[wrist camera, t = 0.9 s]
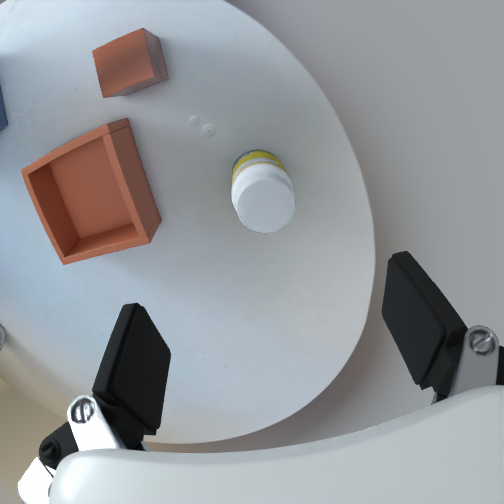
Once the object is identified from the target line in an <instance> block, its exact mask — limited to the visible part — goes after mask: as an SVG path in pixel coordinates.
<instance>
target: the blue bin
mask: <svg viewBox="0 0 504 504" xmlns="http://www.w3.org/2000/svg"><path fill="white" fill-rule="evenodd" d="M7 125H8V123H7V118H6V114H5V109H4V105H3V100H2V94H1V88H0V131H1V130H2V129H3V128H4V127H5V126H7Z"/></svg>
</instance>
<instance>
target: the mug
mask: <svg viewBox="0 0 504 504" xmlns="http://www.w3.org/2000/svg"><path fill="white" fill-rule="evenodd" d="M5 336H6V334H5V331H4V329H3V327H2V326H1V325H0V352H1V349H2V346H3V343H4V340H5Z"/></svg>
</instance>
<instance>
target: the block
mask: <svg viewBox="0 0 504 504" xmlns="http://www.w3.org/2000/svg"><path fill="white" fill-rule="evenodd" d="M92 52H93V57H94V62H95V66H96V71H97V75H98V79H99V83H100V87H101V91H102V95H103V98H107V97H117V96H125V95H128V94H130V93H133V92H135V91H138V90H140V89H143V88H146V87H148V86H151V85H154V84H157V83H160V82H163V81H166V80H168V75H167V71H166V67H165V63H164V58H163V54H162V50H161V46H160V42H159V38H158V37H157V36H155V35H154V34H152V33H150V32H149V31H147V30H146V29H144V28H141V29H139V30H136V31H134V32H131V33H129V34H127V35H124V36H122V37H120V38H118V39H115V40H113V41H111V42H109V43H107V44H105V45H103V46H101V47H99V48H97V49H95V50H93V51H92Z"/></svg>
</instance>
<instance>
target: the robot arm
mask: <svg viewBox="0 0 504 504" xmlns="http://www.w3.org/2000/svg"><path fill="white" fill-rule="evenodd" d="M382 315H383V319H384V321H385V323H386V325H387V326H388V328H389V330H390V332H391V334H392V336H393V338H394V340H395V342H396V344H397V346H398V348H399V351H400V353H401V355H402V357H403V359H404V361H405V363H406V365H407V367H408V370H409V372H410V374H411V376H412V378H413V380H414V382H415V384H417V385H418V384H419V385H420V387H421V390H423V389H426V388H428V387H431V386H432V387H433V389H434V392H435V394H434V397H433V400H432V403H431V405H430V406H428V407H426V408H423V409H421V410H418V411H416V412H413V413H410V414H408V415H405V416H402V417H400V418H397V419H394V420H391V421H388V422H385V423H382V424H380V425H376V426H373V427H370V428H366V429H363V430H360V431H356V432H352V433H349V434H345V435H341V436H337V437H333V438H328V439H324V440H319V441H315V442H309V443H304V444H298V445H293V446H287V447H279V448H273V449H264V450H254V451H242V452H227V453H166V452H151V451H150V450H149V448H148V447H147V445H146V444H145V442H144V441H143V437H144V435H156V430H157V429H159V427H160V424H161V417H162V409H163V403H164V396H165V389H166V383H167V377H168V371H169V365H170V359H171V353H170V349H169V348H168V346H167V344H166V343H165V341H164V340H163V338H162V336H161V335H160V333H159V332H158V330H157V328H156V327H155V325H154V323H153V321H152V320H151V318H150V316H149V315H148V313H147V311H146V309H145V308H144V307H143V306H140V304H138V303H132V304H125V305H123V307H122V309H121V312H120V314H119V317H118V319H117V322H116V324H115V327H114V329H113V332H112V334H111V337H110V339H109V342H108V345H107V348H106V350H105V353H104V356H103V359H102V361H101V364H100V367H99V370H98V373H97V376H96V379H95V382H94V385H93V388H92V391H93V395H92V396H91V395H86V394H85V395H81V396H79V397H77V398H76V399H74V400H73V401H72V403H71V404H70V406H69V409H68V420H69V421H67V422H66V423H65V424H63V425H62V426H61V427H59V428H58V429H57V430H55V431H54V432H53V433H52V434H50V435H49V436H47V437H46V438H45V439H44V440H43V441H42V443H41V445H40V448H39V456H40V459H39V458H36V459H35V460H34V462H33V463H32V464H31V466H30V467H29V469H28V470H27V471H26V473H25V474H24V476H23V477H22V478H21V480H20V481H19V483H18V488H17V490H18V495H19V497H20V499H21V500H22V502H23V504H504V347H502V346H499V342H498V338H497V336H496V334H495V333H494V332H493V331H492V330H491V329H489V328H488V327H485V326H481V325H477V326H473V327H471V328H469V329H468V328H467V327H466V325H465V324H464V322H463V321H462V319H461V318H460V316H459V315H458V314H457V312H456V311H455V309H454V308H453V307H452V305H451V304H450V303H449V302H448V300H447V299H446V297H445V296H444V295H443V293H442V292H441V291H440V289H439V288H438V287H437V286H436V284H435V283H434V282H433V281H432V280H431V278H430V277H429V276H428V275H427V273H426V272H425V271H424V270H423V269H422V267H421V266H420V265H419V264H418V263H417V261H416V260H415V259H414V258H413V257H412V255H411V254H410V253H409V252H408V251H403V252H399V253H395V254H393V255H392V258H390V259H389V260H388V267H387V276H386V284H385V292H384V299H383V305H382Z"/></svg>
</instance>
